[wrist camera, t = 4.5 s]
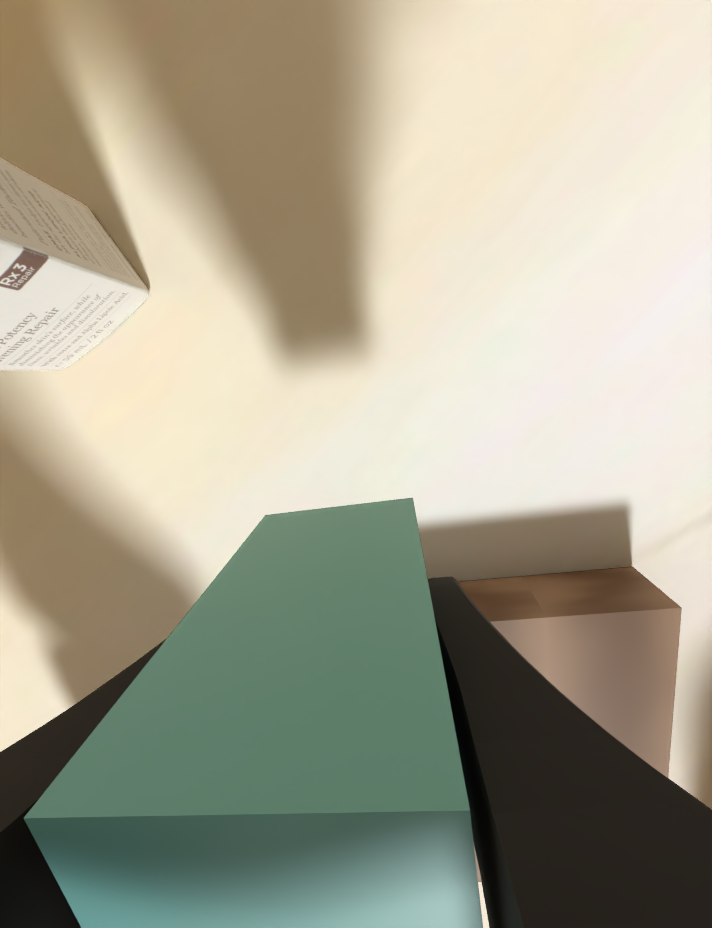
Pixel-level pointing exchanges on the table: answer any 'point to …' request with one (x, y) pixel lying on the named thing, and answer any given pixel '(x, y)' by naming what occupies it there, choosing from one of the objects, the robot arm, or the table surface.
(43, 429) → the table surface
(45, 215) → the skincare box
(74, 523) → the table surface
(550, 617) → the holder block
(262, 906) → the teal peg
